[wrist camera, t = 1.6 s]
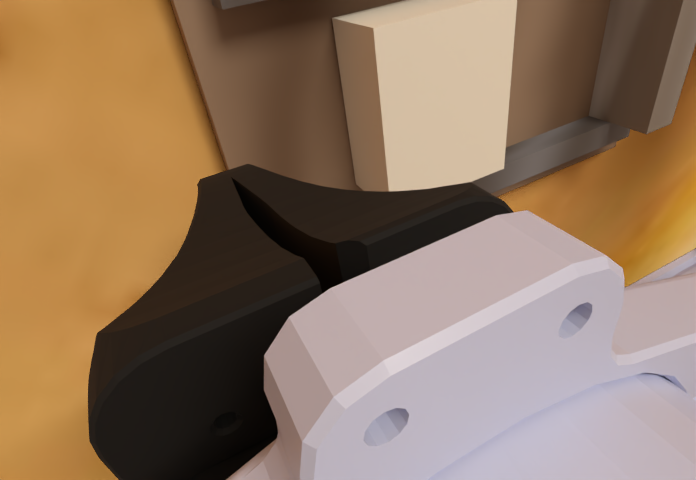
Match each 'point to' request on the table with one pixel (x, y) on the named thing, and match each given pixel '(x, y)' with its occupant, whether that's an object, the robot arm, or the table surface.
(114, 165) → the table surface
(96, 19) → the table surface
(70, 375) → the table surface
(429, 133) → the block
